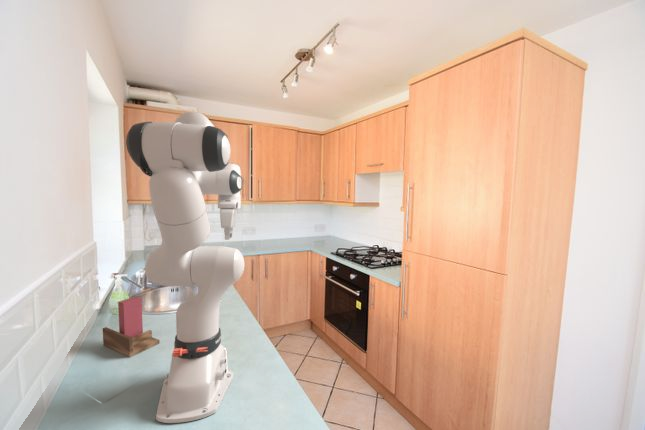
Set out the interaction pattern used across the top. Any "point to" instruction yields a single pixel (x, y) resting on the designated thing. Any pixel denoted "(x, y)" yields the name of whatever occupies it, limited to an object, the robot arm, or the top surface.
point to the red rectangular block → (130, 316)
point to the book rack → (128, 342)
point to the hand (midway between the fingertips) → (228, 238)
